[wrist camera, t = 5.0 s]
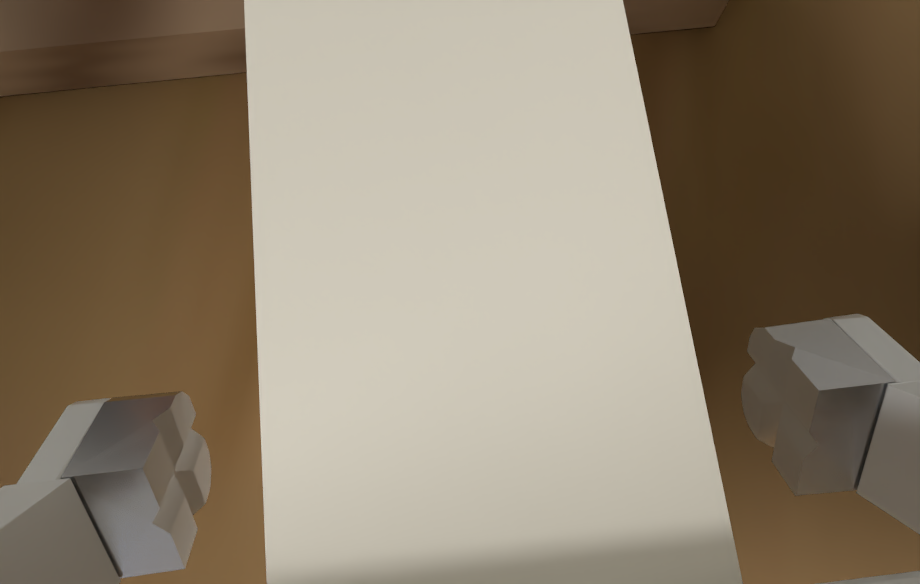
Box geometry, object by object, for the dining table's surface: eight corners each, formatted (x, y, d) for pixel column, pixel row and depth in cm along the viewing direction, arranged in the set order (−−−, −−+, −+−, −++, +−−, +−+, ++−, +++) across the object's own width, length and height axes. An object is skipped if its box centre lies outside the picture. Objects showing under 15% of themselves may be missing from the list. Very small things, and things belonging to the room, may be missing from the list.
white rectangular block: (397, 554, 17) (271, 711, 6) (371, 251, 19) (240, -95, 8) (556, 535, 17) (756, 649, 6) (513, 235, 19) (596, -127, 8)
